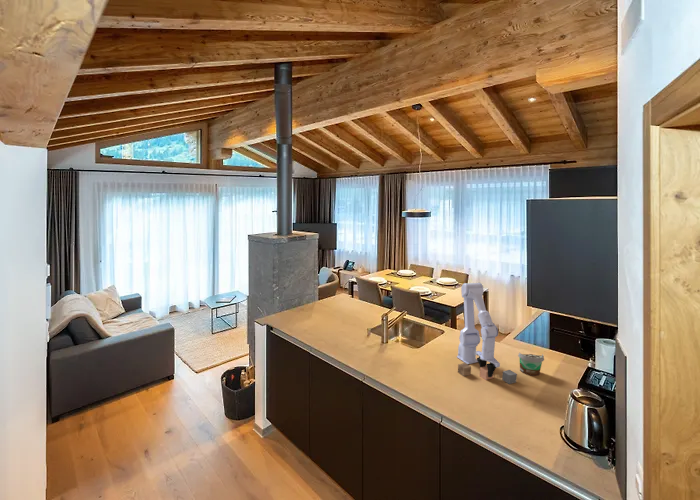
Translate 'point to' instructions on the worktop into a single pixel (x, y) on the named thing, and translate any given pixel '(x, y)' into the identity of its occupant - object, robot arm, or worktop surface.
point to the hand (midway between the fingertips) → (486, 374)
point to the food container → (530, 364)
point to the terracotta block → (485, 373)
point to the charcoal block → (509, 376)
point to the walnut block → (464, 369)
